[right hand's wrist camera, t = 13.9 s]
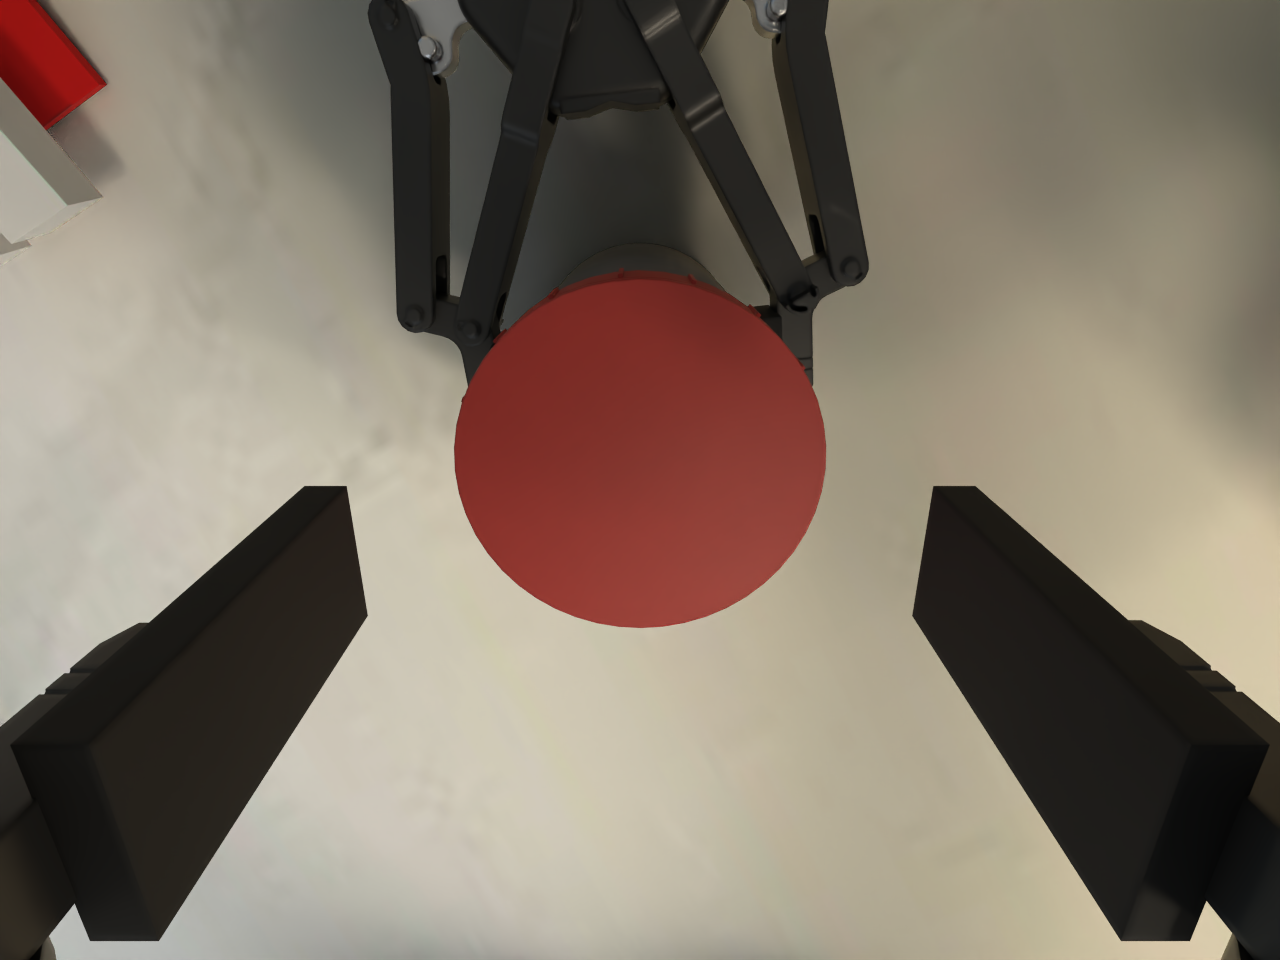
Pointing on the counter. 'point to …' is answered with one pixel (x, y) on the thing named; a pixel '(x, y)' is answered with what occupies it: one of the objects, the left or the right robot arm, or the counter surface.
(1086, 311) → the counter surface
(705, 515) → the lid
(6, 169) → the toy
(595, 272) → the jar
